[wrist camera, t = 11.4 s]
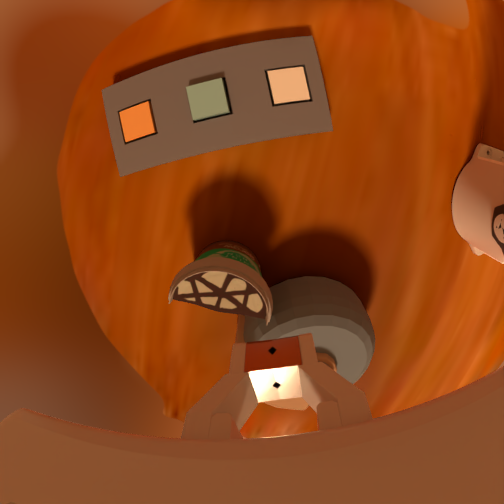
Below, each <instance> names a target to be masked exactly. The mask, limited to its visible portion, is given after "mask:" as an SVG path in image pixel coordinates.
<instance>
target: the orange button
mask: <svg viewBox="0 0 504 504" xmlns="http://www.w3.org/2000/svg"><path fill="white" fill-rule="evenodd" d="M119 113H120V118H121V123H122V128H123V133H124V137H125V142H131V141H134V140H137V139H140V138H143V137H146V136H149V135H152V134H155V133H158V132H157V127H156V123H155V118H154V113H153V108H152V104H151V102H149V101H147V102H145V103H142V104H139V105H136V106H134V107H131V108H129V109H126V110H124V111H121V112H119Z"/></svg>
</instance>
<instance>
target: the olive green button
mask: <svg viewBox="0 0 504 504" xmlns="http://www.w3.org/2000/svg"><path fill="white" fill-rule="evenodd" d="M186 90H187V95H188V100H189V104H190V109H191V114H192V118H193V120H196V121H197V120H201V119H205V118H209V117H214V116H218V115H222V114H227V113H231V112H230V108H229V103H228V98H227V94H226V89H225V84H224V81H223V79H222V78H219V79H215V80H211V81H207V82H203V83H199V84H195V85H191V86H188V87H186Z"/></svg>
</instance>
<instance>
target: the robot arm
mask: <svg viewBox="0 0 504 504" xmlns="http://www.w3.org/2000/svg"><path fill="white" fill-rule="evenodd" d="M452 215H453V221H454V224H455V227H456V229H457V231H458V233H459V234H460V236H461V237H462V238H463V239H465V240H466V241H467V242H468V243H469V244H470V246H471V249H472V251H473V253H474V254H476V255H482V254H483V253H485V254H487V255H488V256H490V257H492V258H493V259H495V260H497V261H498V262H500V263H502V264H504V151H502V150H499V149H496V148H494V147H491V146H488V145H485V144H482V143H479V144H478V145H477V147H476V149H475V152H474V154H473V157H472V159H471V160H470V162H469V163H468V164H467V165H466V166H465V167H464V168H463V170H462V171H461V173H460V175H459V177H458V179H457V182H456V185H455V188H454V192H453V199H452ZM297 397H302V398H303V399H304V400H305V401H306V402H307V403H308V404H309V405H310V406H311V407H312V408H313V409H314V410H315V411H316V413H317V423H318V431H314V432H308V433H301V434H294V435H286V436H276V437H265V438H251V439H243V437H242V435H241V433H240V429H241V428H242V426H243V425H244V424H245V422H246V421H247V419H248V418H249V416H250V415H251V413H252V412H253V410H254V409H255V407H256V406H257V405H258V402H265V401H272V400H279V399H289V398H297ZM0 504H504V366H503V367H501V368H500V369H498V370H496V371H494V372H492V373H490V374H488V375H487V376H485V377H483V378H481V379H479V380H477V381H475V382H473V383H471V384H468V385H466V386H464V387H462V388H460V389H457V390H455V391H453V392H451V393H448V394H446V395H443V396H441V397H438V398H436V399H433V400H431V401H428V402H425V403H423V404H420V405H417V406H414V407H411V408H408V409H405V410H402V411H399V412H396V413H393V414H389V415H386V416H382V417H379V418H375V419H372V416H371V412H370V409H369V406H368V402H367V399H366V396H365V393H364V392H363V391H361V390H360V389H359V388H357V387H356V386H354V385H353V384H352V383H350V382H349V381H347V380H346V379H345V378H343V377H342V376H341V375H339V374H338V373H336V372H335V371H334V370H332V369H331V368H330V367H328V366H327V365H326V364H324V363H323V362H318V360H317V355H316V350H315V346H314V341H313V336H312V334H311V333H307V334H301V335H297V336H291V337H285V338H279V339H272V340H263V341H254V342H247V343H236V344H234V345H233V346H232V354H231V362H230V370H229V374H225V375H224V376H223V377H222V378H221V379H220V380H219V381H218V382H217V383H216V384H215V385H214V386H213V387H212V388H211V389H210V390H209V391H208V392H207V393H206V394H205V395H204V396H203V397H202V398H201V399H200V400H199V401H198V402H197V403H196V404H195V405H194V406H193V407H192V408H191V409H190V410H189V411H188V412H187V414H186V419H185V423H184V427H183V432H182V436H181V439H178V438H165V437H154V436H144V435H136V434H129V433H122V432H116V431H109V430H105V429H99V428H94V427H90V426H85V425H81V424H77V423H73V422H69V421H65V420H61V419H58V418H54V417H51V416H48V415H44V414H41V413H38V412H35V411H32V410H29V409H25V408H21V409H18V410H16V411H15V412H13V413H12V414H10V415H9V416H7V417H6V418H5V419H4V420H2V421H1V422H0Z"/></svg>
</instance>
